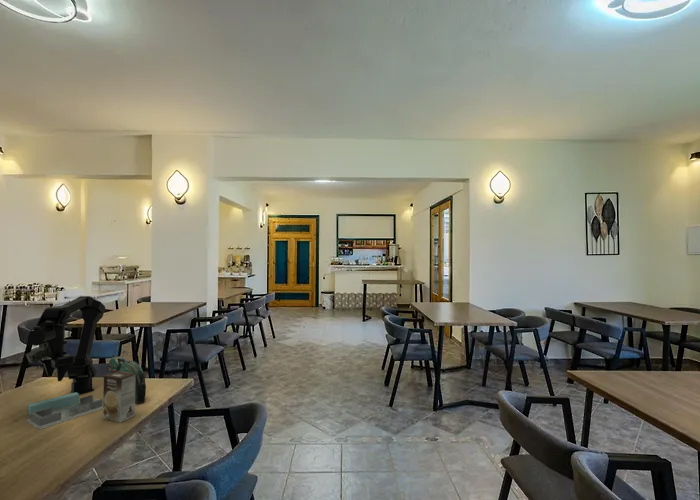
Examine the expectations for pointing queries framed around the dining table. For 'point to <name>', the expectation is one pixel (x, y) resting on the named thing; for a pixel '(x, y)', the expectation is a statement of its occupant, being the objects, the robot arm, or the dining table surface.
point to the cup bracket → (64, 413)
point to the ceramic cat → (131, 367)
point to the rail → (54, 403)
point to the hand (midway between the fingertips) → (54, 378)
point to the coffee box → (119, 396)
